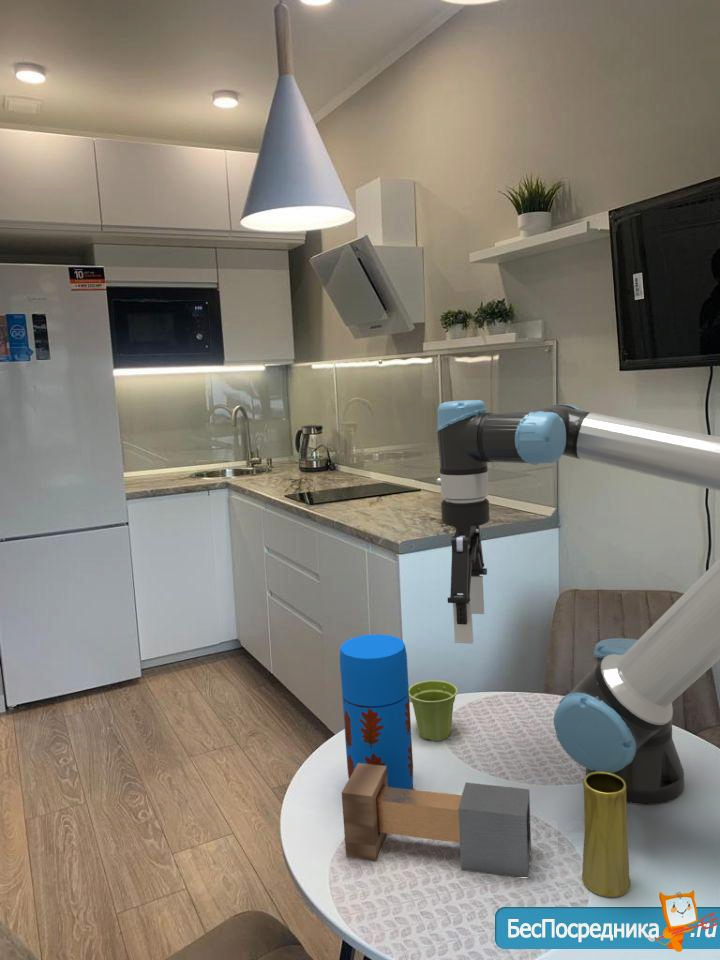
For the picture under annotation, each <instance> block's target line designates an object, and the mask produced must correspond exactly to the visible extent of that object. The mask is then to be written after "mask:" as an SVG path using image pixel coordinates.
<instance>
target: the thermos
mask: <svg viewBox="0 0 720 960" xmlns="http://www.w3.org/2000/svg"><path fill="white" fill-rule="evenodd" d="M339 647H340V648H339V670H340V679H341V680H340V681H341V682H340V684H341V694H342V695H341V696H342V697H341V698H342V707H343V709H342V710H343V723H344V724H343V725H344V727H343V728H344V737H345V738H344V739H345V752H346V764H347V765H346V766H347V776H348V779H349V778H350V777H351V775H352V773H353V771H354V769H355V768H356V766H357V764H358V763H363V764H372V765H382V766H387V780H388V787H393V788H402V789H411V790H414V762H413V761H414V759H413V745H412V744H413V742H412V741H413V739H412V725H411V722H412V721H411V707H410V706H411V705H410V697H409V691H408V690H409V687H410V686H409V672H408V671H409V670H408V655H407V650H406V644H405V642H404V640H403V639H401V638H399V637H397V636H394V635H390V634H380V633H379V634H377V633H376V634H365V635H359V636H355V637H353V638H350V639H348V640H346V641H344V642H342V644H341V646H339Z"/></svg>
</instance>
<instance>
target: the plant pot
mask: <svg viewBox="0 0 720 960" xmlns="http://www.w3.org/2000/svg"><path fill="white" fill-rule="evenodd" d="M408 691H409V700H410V702H411V704H412V707H413V712H414V716H415V722H416V726H417V731H418V735H419V736H420V737H421V738H422V739H424V740H426V739H427V740H430V741H433V742H434V741H442V740H445V739H447V738H448V737H449V736H450V735H451V733H452V722H453V713H454V712H453V711H454V703H455V701H456V697H457V695H458V692H459V691H458V688H457V686H455V685H454V684H452V683H450V682H448V681H444V680H424V681H420V682H416V683H414V684H412V685H410V686H409V690H408Z"/></svg>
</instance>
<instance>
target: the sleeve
mask: <svg viewBox="0 0 720 960" xmlns="http://www.w3.org/2000/svg"><path fill="white" fill-rule="evenodd" d="M461 795H462V797H461V801H460V804H459V808H458V811H459V832H460V843H459V850H460V852H459V853H460V869H461V871H468V872H474V873H481V874H489V875H497V876H502V877H509V876H510V878H516V877H528V878H529V874H528V872H530V865H529V862H530V863H531V856H530V853H531V854H532V832H531V829H532V828H531V827H532V826H531V799H530V798H531V797H530V796H531V795H530V789H529V788H520V787H512V786H511V787H510V786H503V785H502V786H501V785H492V784H485V783H484V784H483V783H475V782H465V783H464V786H463V790H462V794H461Z"/></svg>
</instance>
